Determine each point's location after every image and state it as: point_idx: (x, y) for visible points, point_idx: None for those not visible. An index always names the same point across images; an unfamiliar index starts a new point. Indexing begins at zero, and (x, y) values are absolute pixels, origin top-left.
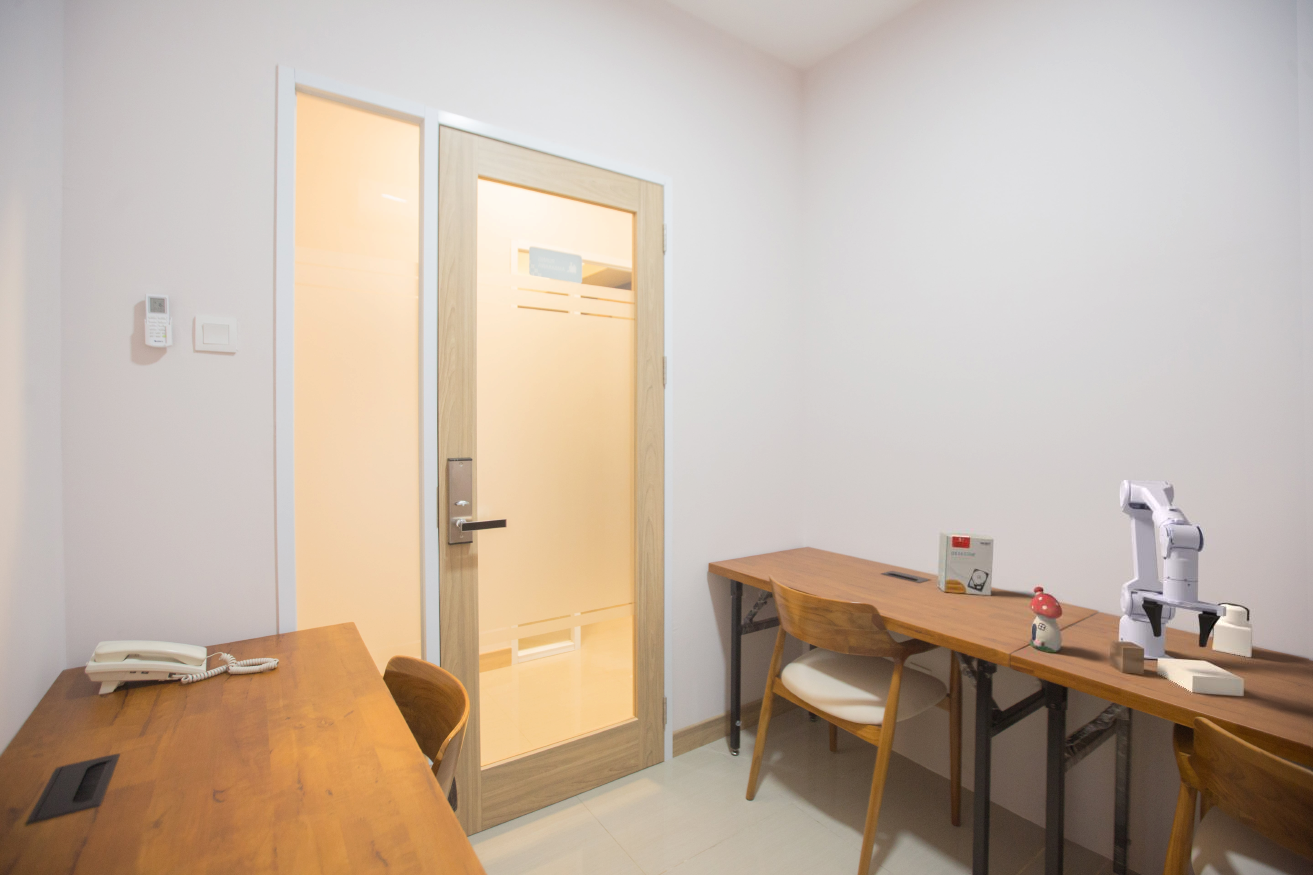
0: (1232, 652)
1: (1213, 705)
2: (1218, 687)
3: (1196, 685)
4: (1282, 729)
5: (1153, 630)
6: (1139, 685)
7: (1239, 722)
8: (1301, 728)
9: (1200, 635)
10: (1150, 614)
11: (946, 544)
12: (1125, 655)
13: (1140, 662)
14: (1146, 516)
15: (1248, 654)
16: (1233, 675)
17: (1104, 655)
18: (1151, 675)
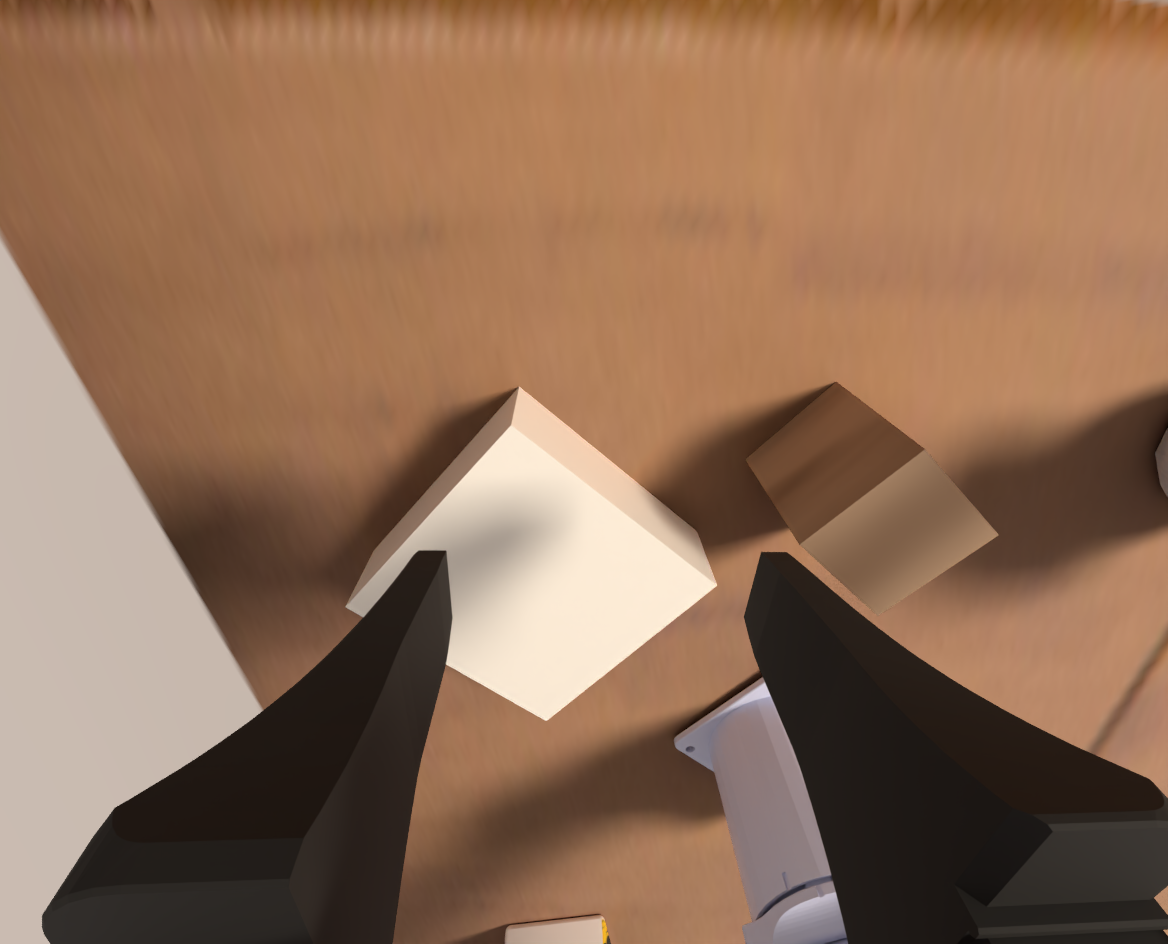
0: (551, 926)
1: (388, 262)
2: (432, 494)
3: (501, 418)
4: (56, 187)
5: (818, 579)
6: (737, 230)
7: (194, 60)
8: (44, 309)
9: (404, 616)
10: (959, 712)
11: None
12: (876, 436)
13: (781, 480)
14: None
15: (511, 935)
16: None
17: None
18: (712, 475)
